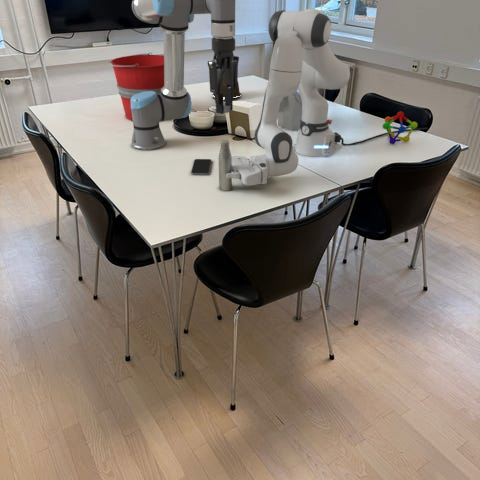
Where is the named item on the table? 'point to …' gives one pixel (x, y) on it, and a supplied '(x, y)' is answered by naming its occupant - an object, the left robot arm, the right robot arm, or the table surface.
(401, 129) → the educational toy
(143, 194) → the table surface
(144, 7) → the left robot arm
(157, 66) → the bucket
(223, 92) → the bell
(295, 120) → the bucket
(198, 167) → the smartphone
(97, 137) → the table surface
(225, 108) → the cap
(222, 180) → the bottle
